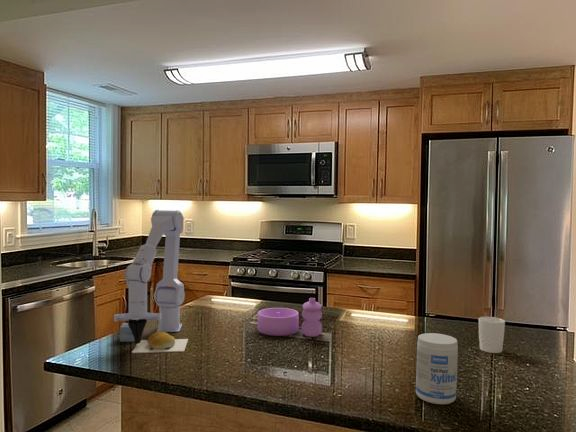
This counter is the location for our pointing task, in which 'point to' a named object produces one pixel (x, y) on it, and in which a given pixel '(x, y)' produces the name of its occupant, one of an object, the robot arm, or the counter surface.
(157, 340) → the bread roll
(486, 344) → the white cup
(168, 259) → the robot arm
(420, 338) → the supplement tub
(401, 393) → the counter surface
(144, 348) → the letter board
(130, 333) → the slate-blue cube
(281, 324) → the container set
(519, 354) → the counter surface
